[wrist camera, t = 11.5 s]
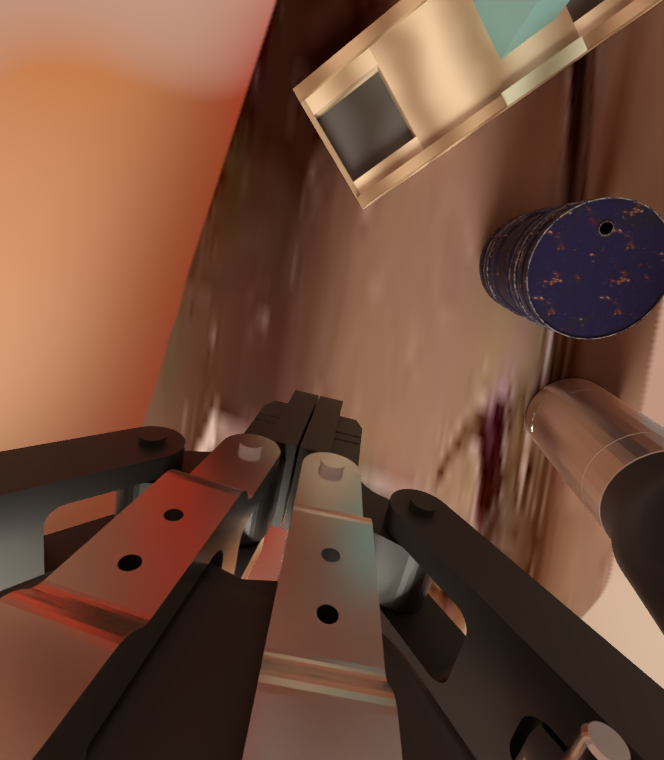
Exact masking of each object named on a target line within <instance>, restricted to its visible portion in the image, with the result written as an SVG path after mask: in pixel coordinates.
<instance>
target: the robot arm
mask: <svg viewBox="0 0 664 760" xmlns="http://www.w3.org/2000/svg"><path fill="white" fill-rule="evenodd" d="M318 397H319V396H318V395H314V394H310V393H306V392H301V391H297V390H296V391H295V392H294V394H293V396H292V397H291V399H290V401H289V403H288V404H287V403H282V402H278V401H274V402H272V403H269V404H267V405H264V407H263V408H262V410H261V411H260V412H259V414H258V415H257V416H256V418H255V420H254V421H253V422H252V423H251V425H250V426H249V427H248V429H247V430H246V432H245V433H244V434H236V435H232V436H229V437H227V438H226V439H225V440H223V441H222V442H221V443H220V444H219V445H218V446H217V447H216V448H215V449H214V450H213V451H212V452H198V451H185V439H184V437H183V436H182V435H181V434H180V433H178V432H177V431H175V430H172V429H169V428H164V427H157V426H146V427H138V428H132V429H127V430H121V431H115V432H110V433H104V434H99V435H92V436H87V437H81V438H76V439H70V440H65V441H59V442H53V443H47V444H41V445H36V446H30V447H25V448H19V449H13V450H7V451H2V452H0V760H664V689H663V688H662V687H661V686H659V685H658V684H657V683H656V682H655V681H653V680H652V679H651V678H650V677H649V676H647V675H646V674H645V673H644V672H643V671H642V670H640V669H639V668H638V667H637V666H636V665H635V664H633V663H632V662H631V661H630V660H629V659H627V658H626V657H625V656H624V655H623V654H622V653H620V652H619V651H618V650H617V649H616V648H614V647H613V646H612V645H611V644H610V643H609V642H607V641H606V640H605V639H604V638H603V637H602V636H600V635H599V634H598V633H597V632H596V631H594V630H593V629H592V628H591V627H590V626H589V625H587V624H586V623H585V622H584V621H583V620H581V619H580V618H579V617H578V616H577V615H576V614H574V613H573V612H572V611H571V610H570V609H568V608H567V607H566V606H565V605H564V604H563V603H561V602H560V601H559V600H558V599H557V598H555V597H554V596H553V595H552V594H551V593H550V592H548V591H547V590H546V589H545V588H544V587H542V586H541V585H540V584H539V583H538V582H537V581H535V580H534V579H533V578H532V577H531V576H529V575H528V574H527V573H526V572H525V571H524V570H522V569H521V568H520V567H519V566H518V565H516V564H515V563H514V562H513V561H512V560H511V559H509V558H508V557H507V556H506V555H505V554H503V553H502V552H501V551H500V550H499V549H498V548H496V547H495V546H494V545H493V544H492V543H491V542H489V541H488V540H487V539H486V538H485V537H483V536H482V535H481V534H480V533H479V532H478V531H476V530H475V529H474V528H473V527H472V526H470V525H469V524H468V523H467V522H466V521H465V520H463V519H462V518H461V517H460V516H459V515H457V514H456V513H455V512H454V511H453V510H452V509H450V508H449V507H448V506H447V505H446V504H444V503H443V502H442V501H441V500H439V499H438V498H436V497H434V496H432V495H430V494H428V493H425V492H422V491H418V490H413V489H402V490H398V491H396V492H394V493H393V494H392V496H391V498H390V500H389V499H387V498H385V497H382V496H380V495H378V494H376V493H374V492H373V491H371V490H370V489H369V488H367V487H366V486H365V485H364V484H363V483H362V482H361V472H360V470H359V468H358V463H359V453H360V443H361V434H362V428H361V427H360V425H359V424H358V422H357V421H356V420H353V419H349V418H345V417H341V416H340V411H341V407H342V403H343V401H339V400H335V399H331V398H327V397H323V396H320V398H319V401H318ZM526 426H527V430H528V432H529V434H530V436H531V438H532V439H533V440H534V442H535V443H536V444H537V445H538V447H539V448H540V449H541V451H542V452H543V453H544V455H545V456H546V457H547V459H548V460H549V461H550V462H551V464H552V465H553V466H554V467H555V469H556V470H557V471H558V473H559V474H560V475H561V476H562V478H563V479H564V480H565V481H566V483H567V484H568V485H569V487H570V488H571V489H572V490H573V492H574V493H575V494H576V495H577V497H578V498H579V499H580V501H581V502H582V503H583V504H584V506H585V507H586V508H587V509H588V511H589V512H590V513H591V514H592V516H593V517H594V518H595V519H596V521H597V522H598V523H599V525H600V526H601V527H602V528H603V530H604V531H605V532H606V533H607V535H608V536H609V537H610V538H611V541H612V548H613V552H614V556H615V558H616V561H617V563H618V565H619V567H620V568H621V570H622V572H623V573H624V575H625V577H626V578H627V579H628V581H629V582H630V584H631V585H632V587H633V588H634V590H635V591H636V593H637V595H638V596H639V597H640V599H641V601H642V602H643V604H644V605H645V607H646V608H647V610H648V611H649V613H650V614H651V616H652V618H653V619H654V620H655V622H656V624H657V625H658V627H659V628H660V630H661V631H662V633H663V634H664V427H662V426H661V425H659V424H658V423H656V422H654V421H653V420H651V419H650V418H648V417H647V416H645V415H644V414H642V413H640V412H639V411H637V410H636V409H634V408H633V407H631V406H630V405H628V404H626V403H625V402H623V401H622V400H620V399H619V398H617V397H616V396H614V395H613V394H611V393H610V392H608V391H607V390H605V389H603V388H602V387H600V386H599V385H597V384H595V383H593V382H591V381H589V380H585V379H581V378H568V379H562V380H559V381H556V382H553V383H551V384H549V385H547V386H546V387H544V388H543V389H542V390H540V391H539V392H538V393H537V394H536V395H535V397H534V398H533V399H532V401H531V403H530V405H529V406H528V409H527V413H526ZM112 491H116V493H115V514H113V515H110V516H106V517H103V518H100V519H97V520H93V521H90V522H87V523H84V524H81V525H77V526H74V527H71V528H68V529H64V530H61V531H58V532H55V533H52V534H48V535H45V536H44V534H43V533H44V532H43V526H44V522H45V520H46V518H47V516H48V515H49V514H50V513H51V512H52V511H54V510H55V509H56V508H58V507H60V506H62V505H65V504H68V503H71V502H75V501H79V500H83V499H86V498H90V497H94V496H97V495H101V494H105V493H108V492H112ZM286 510H287V511H286ZM285 513H286V516H285ZM284 516H285V521H284V526H283V529H287V530H288V534H287V538H286V543H285V547H284V552H283V556H282V561H281V566H280V571H279V576H278V580H277V581H264V580H246V579H247V577H248V575H249V573H250V571H251V569H252V567H253V565H254V563H255V562H256V560H257V558H258V556H259V554H260V552H261V550H262V546H263V541H264V537H265V535H266V534H267V532H268V530H269V527H270V525H271V526H275V527H279V528H280V527H281V524H282V521H283V519H284ZM432 580H434V581H435V583H436V584H437V585H438V586H439V587H440V588H441V589H442V590H443V591H444V592H445V593H446V594H447V595H448V597H449V598H450V599H451V600H452V601H453V602H454V603H455V604H456V605H457V606H458V608H459V609H460V611H461V612H462V614H463V616H464V619H465V622H466V627H467V634H466V636H465V635H464V634H463V632H462V631H461V630H460V629H459V628H458V627H457V626H456V625H455V623H454V622H453V621H452V620H451V619H450V618H449V617H448V616H447V614H446V613H445V612H444V611H443V610H442V609H441V608H440V607H439V605H438V604H437V603H436V602H435V601H434V600H433V599H432V598H431V596H430V595H429V594H428V591H429V588H430V586H431V583H432Z"/></svg>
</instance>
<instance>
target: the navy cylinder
mask: <svg viewBox="0 0 664 760" xmlns="http://www.w3.org/2000/svg"><path fill="white" fill-rule="evenodd" d="M480 278H481V281H482V284H483V287H484V288H485V290H486V292H487V293H488V295H489V296H490V297H491V298H492V299H493V300H494V301H495V302H497V303H499V304H500V305H501V306H503V307H504V308H506V309H507V310H509V311H512V312H513V313H515V314H517V315H520V316H522V317H525V318H527V319H528V320H530V321H531V322H533V323H535V324H538V325H540V326H542V327H544V328H546V329H549V330H551V331H554V332H557V333H560V334H562V335H565V336H567V337H571V338H576V339H586V340H588V339H600V338H605V337H610V336H612V335H615V334H618V333H621V332H623V331H625V330H627V329H629V328H631V327H632V326H634V325H635V324H637V323H638V322H640V321H641V320H642V319H643V318H645V317H646V316H647V315H648V314H649V313H650V312H651V311H652V310H653V309H654V308H655V307H656V305H657V304H658V303H659V302H660V300H661V299H662V297H663V296H664V220H663V218H662V217H661V216H660V215H659V214H658V213H657V212H656V211H654V210H653V209H651V208H650V207H648V206H647V205H645V204H643V203H640V202H638V201H636V200H632V199H627V198H620V197H608V198H599V199H592V200H583V201H578V202H574V203H568V204H564V205H560V206H557V207H555V208H545V209H540V210H537V211H533V212H530V213H526V214H524V215H521V216H518V217H516V218H513V219H511V220H509V221H507V222H506V223H504V224H503V225H502V226H500V227H499V228H498V229H497V230H496V231H495V232H494V233H493V234H492V235H491V237H490V238H489V240H488V241H487V243H486V245H485V247H484V249H483V251H482V255H481V259H480Z"/></svg>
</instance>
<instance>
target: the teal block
mask: <svg viewBox="0 0 664 760" xmlns="http://www.w3.org/2000/svg"><path fill="white" fill-rule="evenodd" d="M569 1H570V0H474V2H473V3H474V5H475V8H476V10H477V12H478V14H479V16H480V18H481V20H482V22H483V24H484V26H485V28H486V30H487V33H488V35H489V37H490V39H491V41H492V43H493V45H494V47H495V49H496V51H497V53H498V55H499V57H500V60H501V59H502V58H503V57H505V56H506V55H507V54H509V53H510V52H511V51H513V50H514V49H515V48H517V47H518V46H519V45H521V44H522V43H524V42H525V41H526V40H528V39H529V38H530V37H532V36H533V35H534V34H536V33H537V32H538V31H540V30H541V29H542V28H544V27H545V26H547V25H548V24H549V23H551V22H552V21H553V20H555V19H556V18H557V16H558V15H559V14H560V13H561V11H562V10H563V9H564V7H565V6H566V5H567V3H568V2H569Z"/></svg>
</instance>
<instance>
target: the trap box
mask: <svg viewBox="0 0 664 760" xmlns="http://www.w3.org/2000/svg"><path fill="white" fill-rule="evenodd" d="M661 1H663V0H570V1H569V2H568V3H567V5H566V6H565V7H564V9H563V10H562V11H561V13H560V14H559V15H558V16H557V18H556V19H555V20H553V21H552V22H551V23H549V24H548V25H547V26H545V27H544V28H542V29H541V30H540V31H538V32H537V33H536V34H534V35H533V36H532V37H530V38H529V39H528V40H526V41H525V42H524V43H522V44H521V45H519V46H518V47H517V48H515V49H514V50H513V51H511V52H510V53H509V54H507V55H506V56H505V57H503V58H502V59H501V60H500V57H499V55H498V53H497V51H496V49H495V47H494V45H493V43H492V41H491V39H490V37H489V35H488V33H487V30H486V28H485V26H484V24H483V22H482V20H481V18H480V16H479V14H478V12H477V10H476V8H475V5H474V3H473V2H474V0H400V1H399V2H398V3H396V4H395V5H394V6H393V7H392V8H390V9H389V10H388V11H387V12H385V13H384V14H383V15H382V16H381V17H379V18H378V19H377V20H376V21H375V22H373V23H372V24H371V25H370V26H369V27H367V28H366V29H365V30H364V31H362V32H361V33H360V34H359V35H358V36H356V37H355V38H354V39H353V40H352V41H350V42H349V43H348V44H347V45H346V46H344V47H343V48H342V49H341V50H339V51H338V52H337V53H336V54H335V55H333V56H332V57H331V58H330V59H329V60H327V61H326V62H325V63H324V64H323V65H321V66H320V67H319V68H318V69H316V70H315V71H314V72H313V73H312V74H310V75H309V76H308V77H307V78H306V79H304V80H303V81H302V82H301V83H300V84H298V85H297V86H296V87H295V88H293V91H294V92H295V94H296V96H297V98H298V100H299V101H300V103H301V105H302V106H303V108H304V110H305V112H306V113H307V115H308V117H309V118H310V120H311V122H312V123H313V125H314V127H315V129H316V130H317V132H318V134H319V135H320V137H321V139H322V141H323V142H324V144H325V146H326V147H327V149H328V151H329V152H330V154H331V156H332V158H333V159H334V161H335V163H336V164H337V166H338V168H339V169H340V171H341V173H342V175H343V176H344V178H345V180H346V181H347V183H348V185H349V187H350V188H351V190H352V192H353V193H354V195H355V197H356V198H357V200H358V202H359V204H360V205H361V207H362V209H365V208H366V207H368V206H369V205H371V204H372V203H373V202H375V201H376V200H378V199H379V198H381V197H382V196H383V195H385V194H386V193H388V192H389V191H391V190H392V189H393V188H395V187H396V186H398V185H399V184H401V183H402V182H403V181H405V180H406V179H408V178H409V177H411V176H412V175H414V174H415V173H416V172H418V171H419V170H421V169H422V168H424V167H425V166H426V165H428V164H429V163H431V162H432V161H434V160H435V159H436V158H438V157H439V156H441V155H442V154H444V153H445V152H446V151H448V150H449V149H451V148H452V147H454V146H455V145H457V144H458V143H459V142H461V141H462V140H464V139H465V138H467V137H468V136H469V135H471V134H472V133H474V132H475V131H477V130H478V129H479V128H481V127H482V126H484V125H485V124H487V123H488V122H489V121H491V120H492V119H494V118H495V117H497V116H498V115H500V114H501V113H502V112H504V111H505V110H507V109H508V108H510V107H511V106H512V105H514V104H515V103H517V102H518V101H520V100H521V99H522V98H524V97H525V96H527V95H528V94H530V93H531V92H532V91H534V90H535V89H537V88H538V87H540V86H541V85H542V84H544V83H545V82H547V81H548V80H550V79H551V78H553V77H554V76H555V75H557V74H558V73H560V72H561V71H563V70H564V69H565V68H567V67H568V66H570V65H571V64H573V63H574V62H575V61H577V60H578V59H580V58H581V57H583V56H584V55H585V54H587V53H588V52H590V51H591V50H593V49H594V48H596V47H597V46H598V45H600V44H601V43H603V42H604V41H606V40H607V39H608V38H610V37H611V36H613V35H614V34H616V33H617V32H618V31H620V30H621V29H623V28H624V27H626V26H627V25H628V24H630V23H631V22H633V21H634V20H636V19H637V18H639V17H640V16H641V15H643V14H644V13H646V12H647V11H649V10H650V9H651V8H653V7H654V6H656V5H657V4H659V3H660V2H661Z"/></svg>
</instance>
